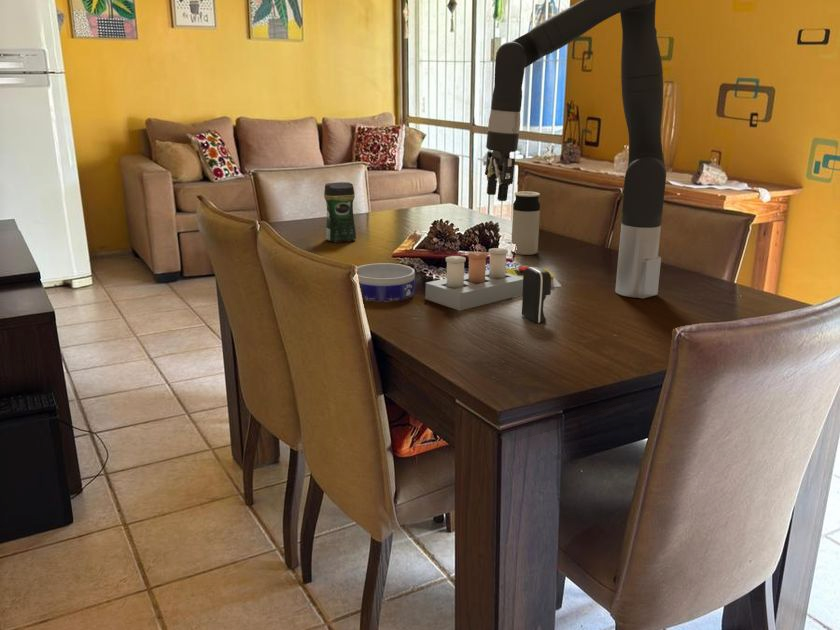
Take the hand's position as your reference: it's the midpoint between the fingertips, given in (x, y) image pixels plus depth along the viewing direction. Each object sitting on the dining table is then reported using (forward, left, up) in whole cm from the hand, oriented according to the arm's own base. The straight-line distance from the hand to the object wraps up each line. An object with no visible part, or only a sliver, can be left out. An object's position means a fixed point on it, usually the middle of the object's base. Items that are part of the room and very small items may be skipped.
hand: (496, 197), depth 187 cm
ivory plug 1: (-5, +18, -19) cm, 26 cm away
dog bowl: (+11, +27, -23) cm, 37 cm away
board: (-5, +11, -22) cm, 25 cm away
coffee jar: (+70, -1, -23) cm, 73 cm away
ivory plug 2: (-5, +4, -19) cm, 20 cm away
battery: (-26, +13, -23) cm, 37 cm away
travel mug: (+21, -34, -23) cm, 46 cm away
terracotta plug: (-5, +11, -19) cm, 22 cm away
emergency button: (-4, -10, -23) cm, 25 cm away
